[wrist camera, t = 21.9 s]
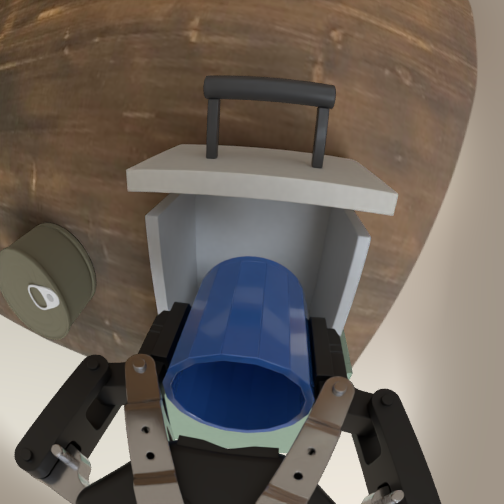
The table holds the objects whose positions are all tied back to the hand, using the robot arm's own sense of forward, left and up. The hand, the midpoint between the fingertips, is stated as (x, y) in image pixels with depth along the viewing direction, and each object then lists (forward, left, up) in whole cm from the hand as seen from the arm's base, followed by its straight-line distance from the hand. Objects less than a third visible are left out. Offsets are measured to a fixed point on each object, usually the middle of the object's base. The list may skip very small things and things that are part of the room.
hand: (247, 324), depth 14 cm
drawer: (0, -2, -12) cm, 12 cm away
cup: (0, 0, -2) cm, 2 cm away
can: (+24, +7, -13) cm, 28 cm away
